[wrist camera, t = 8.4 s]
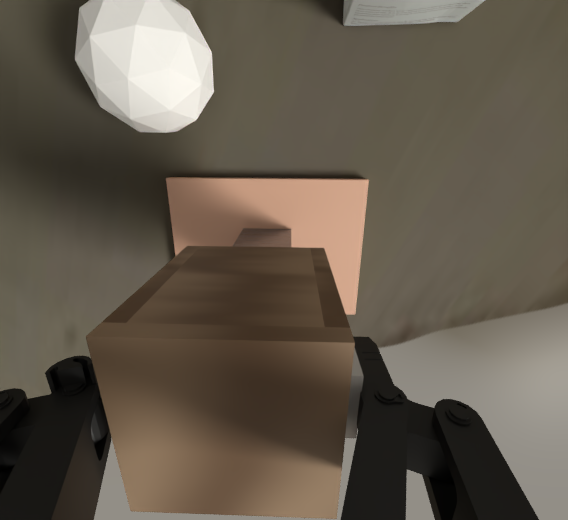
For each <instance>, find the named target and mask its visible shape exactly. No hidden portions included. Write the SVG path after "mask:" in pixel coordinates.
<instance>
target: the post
mask: <svg viewBox="0 0 568 520" xmlns="http://www.w3.org/2000/svg"><path fill="white" fill-rule="evenodd" d="M233 246H235V247H291V229H260V228H243V230H242V231H241V233H240V235H239V236H238V238H237V239H236V241H235V243H234V244H233Z"/></svg>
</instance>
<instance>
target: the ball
mask: <svg viewBox="0 0 568 520" xmlns="http://www.w3.org/2000/svg"><path fill="white" fill-rule="evenodd" d="M75 61H76V63H77V65H78V66H79V68H80V70H81V72H82V74H83V76H84V78H85V79H86V81H87V83H88V85H89V87H90V89H91V91H92V92H93V94H94V96H95V98H96V100H97V102H98V104H99V105H100V107H101V108H103V109H104V110H106V111H107V112H109V113H111V114H112V115H114V116H115V117H117V118H118V119H120V120H121V121H123V122H125V123H126V124H128V125H129V126H131V127H132V128H134V129H136V130H137V131H139V132H156V133H168V132H177V131H179V130H180V129H182V128H184V127H185V126H187V125H189V124H190V123H192V122H194V121H195V120H197V118H198V117H199V115H200V113H201V112H202V110H203V109H204V107H205V105H206V104H207V102H208V101H209V99H210V97H211V96H212V94H213V93H214V87H213V67H212V52H211V50H210V48H209V46H208V44H207V43H206V41H205V39H204V37H203V35H202V33H201V31H200V30H199V28H198V26H197V24H196V22H195V20H194V19H193V17H192V15H191V13H190V11H189V10H188V9H186V8H185V7H183V6H182V5H181V4H179V3H178V2H177V1H175V0H89V1H88V2H87V3H85V4H84V5H83V6H81V7H80V8H79V17H78V28H77V39H76V50H75Z"/></svg>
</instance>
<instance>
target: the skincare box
mask: <svg viewBox="0 0 568 520" xmlns="http://www.w3.org/2000/svg"><path fill="white" fill-rule="evenodd" d="M484 1H485V0H344V9H343V25H344V26H362V25H396V24H421V23H432V22H458V21H459V20H460V19H462V18H463V17H464V16H465V15H467V14H468V13H469V12H471V11H472V10H473V9H474V8H476V7H477V6H478V5H480V4H481V3H482V2H484Z"/></svg>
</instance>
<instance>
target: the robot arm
mask: <svg viewBox="0 0 568 520" xmlns="http://www.w3.org/2000/svg"><path fill="white" fill-rule="evenodd" d="M353 338H354V342H355V347H354V356H353V366H352V376H351V385H350V395H349V404H348V414H347V423H346V433H345V438H356V435H357V428H358V435H357V440H356V445H355V450H354V456H353V460H352V465H351V470H350V475H349V481H348V485H347V490H346V495H345V500H344V506H343V511H342V516H341V520H405V519H406V517H405V516H406V472H407V469H408V470H411V471H414V472H416V473H420V474H422V475H423V479H424V482H425V486H426V489H427V492H428V497H429V500H430V504H431V507H432V511H433V514H434V518H435V520H539V519H538V517H537V516H536V514H535V512H534V510H533V508H532V507H531V505H530V503H529V501H528V500H527V498H526V496H525V494H524V492H523V491H522V489H521V487H520V486H519V484H518V482H517V480H516V478H515V477H514V475H513V473H512V471H511V470H510V468H509V466H508V464H507V462H506V461H505V459H504V457H503V456H502V454H501V452H500V450H499V448H498V447H497V445H496V443H495V441H494V439H493V438H492V436H491V434H490V433H489V431H488V429H487V428H486V425H485V424H484V422H483V420H482V418H481V417H480V416H479V415H478V413H477V412H476V411H475V410H473V409H472V408H471V407H469V406H468V405H466V404H464V403H462V402H459V401H456V400H452V399H443V400H441V401H438V402H437V404H436V405H435V408H432V407H428V406H424V405H421V404H418V403H415V402H412V401H410V400H408V399H407V397H406V395H405V394H404V393H403V391H402V390H400V389H399V388H398V387H396V386H394V384H393V382H392V379H391V377H390V375H389V373H388V370H387V368H386V366H385V363H384V361H383V359H382V356H381V354H380V352H379V349H378V347H377V345H376V343H374V342H373V341H372V340H371V339H370V338H369V337H353ZM45 374H46V377H47V380H48V383H49V386H50V389H51V392H52V393H51V394H50V395H45V396H40V397H35V398H30V399H27V396H26V393H25V392H24V391H23V390H22V389H15V388H14V389H8V390H4V391H0V520H94V515H95V510H96V506H97V502H98V497H99V493H100V489H101V483H102V479H103V474H104V470H105V466H106V461H107V457H108V452H109V448H110V443H111V433H110V429H109V425H108V421H107V417H106V413H105V410H104V406H103V402H102V398H101V394H100V390H99V386H98V383H97V379H96V375H95V371H94V367H93V363H92V360H91V359H90V358H89V357H87V356H74V357H70V358H66V359H64V360H62V361H60V362H57V363H56V364H54V365H53V366H51V367H50V368H49V369H48V370H47V371H46V372H45Z"/></svg>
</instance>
